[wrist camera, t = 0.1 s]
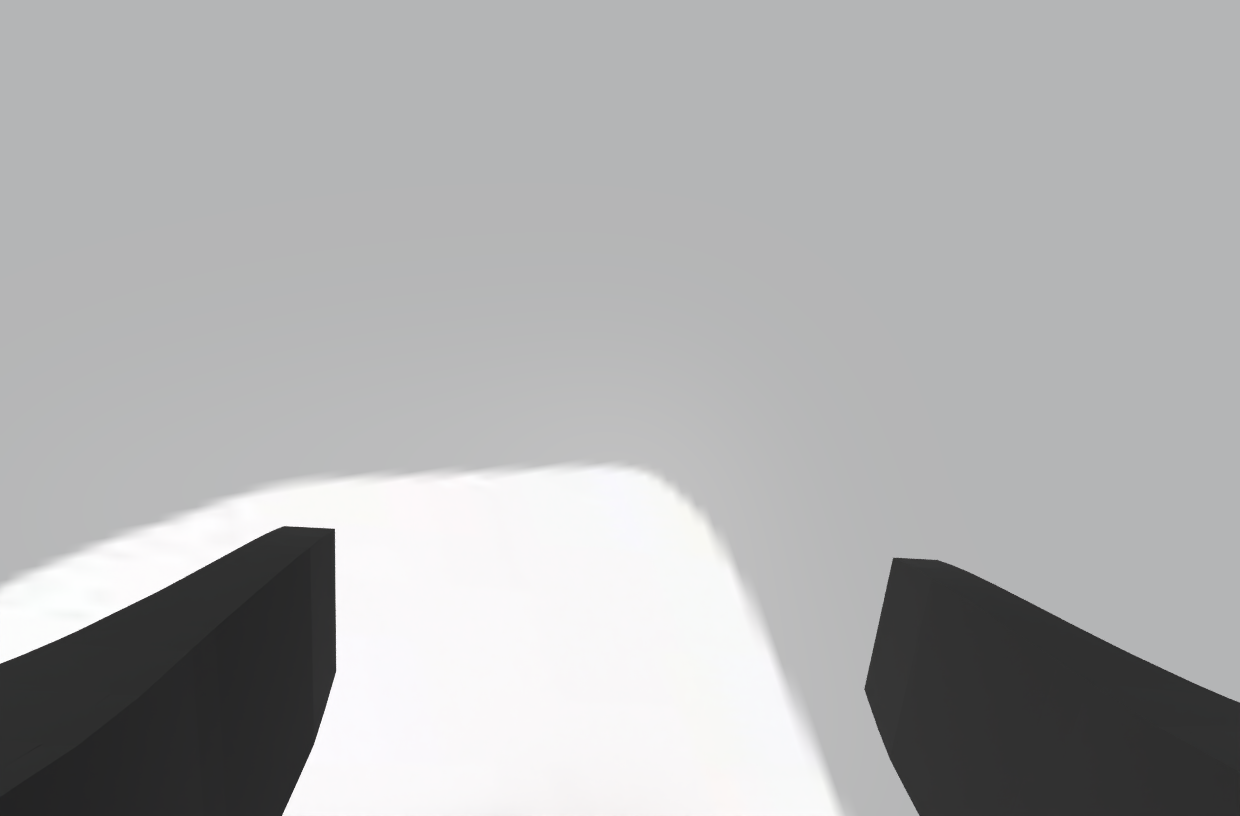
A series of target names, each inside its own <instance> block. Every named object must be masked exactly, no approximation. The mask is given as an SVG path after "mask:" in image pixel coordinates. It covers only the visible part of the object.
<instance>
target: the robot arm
mask: <svg viewBox="0 0 1240 816" xmlns="http://www.w3.org/2000/svg"><path fill="white" fill-rule="evenodd" d="M335 673H336V610H335V529H327V528H308V527H288V526H283V527H281V528H278V529H276V530H273V531H271V532H269V533H267V534H265V535H263V536H261V537H259V538H257V539H255V540H253V541H251V542H249V543H247V544H246V545H244V546H242V547H240V548H238V549H236V550H234V551H233V552H231V553H229V554H227V555H225V556H223V557H222V558H220V559H218V560H216V561H214V562H212V563H211V564H209V565H207V566H205V567H203V568H201V569H199V570H198V571H196V572H194V573H192V574H190V575H188V576H186V577H185V578H183V579H181V580H179V581H177V582H175V583H173V584H172V585H170V586H168V587H166V588H164V589H162V590H160V591H158V592H156V593H154V594H152V595H150V596H148V597H146V598H144V599H142V600H140V601H138V602H136V603H134V604H132V605H130V606H128V607H126V608H124V609H122V610H120V611H118V612H116V613H113V614H111V615H109V616H107V617H105V618H103V619H101V620H99V621H97V622H95V623H93V624H91V625H89V626H87V627H85V628H83V629H81V630H79V631H77V632H74V633H72V634H70V635H68V636H66V637H63V638H61V639H59V640H57V641H54V642H52V643H50V644H47V645H45V646H43V647H40V648H38V649H36V650H33V651H31V652H29V653H26V654H24V655H21V656H19V657H16V658H14V659H11V660H9V661H6V662H4V663H1V664H0V816H282V814H283V812H284V810H285V808H286V806H287V803H288V801H289V799H290V797H291V795H292V792H293V790H294V788H295V786H296V783H297V781H298V779H299V777H300V775H301V772H302V770H303V768H304V766H305V763H306V761H307V759H308V757H309V754H310V752H311V750H312V747H313V745H314V742H315V739H316V736H317V733H318V730H319V727H320V723H321V720H322V717H323V714H324V711H325V707H326V704H327V701H328V697H329V694H330V690H331V687H332V683H333V680H334V677H335ZM865 692H866V695H867V698H868V701H869V704H870V707H871V710H872V713H873V715H874V718H875V721H876V724H877V727H878V730H879V732H880V735H881V737H882V740H883V742H884V745H885V747H886V750H887V753H888V755H889V758H890V760H891V762H892V764H893V766H894V768H895V770H896V772H897V774H898V776H899V778H900V779H901V781H902V783H903V785H904V787H905V789H906V791H907V793H908V795H909V797H910V798H911V800H912V802H913V804H914V806H915V808H916V810H917V812H918V813H919V815H920V816H1240V703H1239V702H1237V701H1234V700H1232V699H1229V698H1227V697H1224V696H1222V695H1219V694H1217V693H1215V692H1213V691H1210V690H1208V689H1206V688H1203V687H1201V686H1199V685H1197V684H1194V683H1192V682H1190V681H1188V680H1186V679H1183V678H1181V677H1179V676H1177V675H1175V674H1173V673H1171V672H1168V671H1166V670H1164V669H1162V668H1160V667H1158V666H1155V665H1154V664H1151V663H1149V662H1147V661H1145V660H1143V659H1141V658H1139V657H1136V656H1134V655H1132V654H1130V653H1128V652H1126V651H1124V650H1122V649H1120V648H1118V647H1116V646H1113V645H1112V644H1110V643H1108V642H1106V641H1104V640H1102V639H1100V638H1098V637H1096V636H1094V635H1092V634H1090V633H1088V632H1086V631H1084V630H1082V629H1080V628H1078V627H1076V626H1074V625H1072V624H1070V623H1068V622H1066V621H1064V620H1062V619H1061V618H1059V617H1057V616H1055V615H1053V614H1051V613H1049V612H1047V611H1045V610H1043V609H1041V608H1039V607H1037V606H1035V605H1033V604H1032V603H1030V602H1028V601H1026V600H1024V599H1022V598H1020V597H1018V596H1016V595H1014V594H1012V593H1010V592H1008V591H1006V590H1004V589H1002V588H1000V587H998V586H996V585H994V584H992V583H990V582H988V581H986V580H984V579H982V578H980V577H978V576H976V575H974V574H971V573H969V572H967V571H965V570H962V569H960V568H958V567H955V566H953V565H950V564H947V563H944V562H941V561H938V560H926V559H907V558H893V561H892V566H891V570H890V575H889V579H888V584H887V589H886V593H885V598H884V603H883V607H882V612H881V616H880V621H879V625H878V630H877V634H876V639H875V643H874V648H873V653H872V657H871V662H870V666H869V671H868V675H867V680H866V685H865Z"/></svg>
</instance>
